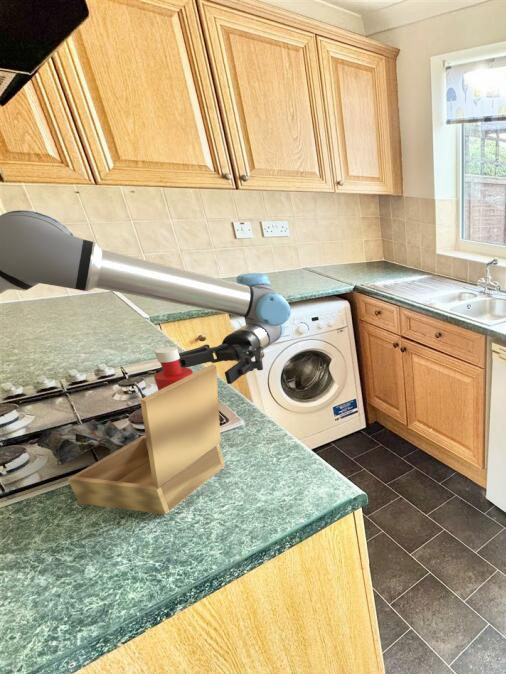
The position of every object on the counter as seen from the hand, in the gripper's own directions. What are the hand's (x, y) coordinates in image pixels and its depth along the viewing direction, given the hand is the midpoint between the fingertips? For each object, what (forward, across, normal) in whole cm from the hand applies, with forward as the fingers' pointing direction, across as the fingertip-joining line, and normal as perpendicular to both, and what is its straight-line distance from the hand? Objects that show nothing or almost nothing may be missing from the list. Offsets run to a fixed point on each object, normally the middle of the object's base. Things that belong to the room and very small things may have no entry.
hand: (193, 377), depth 88 cm
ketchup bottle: (+5, 0, -13) cm, 14 cm away
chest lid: (+21, -11, +1) cm, 24 cm away
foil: (+10, +13, -13) cm, 21 cm away
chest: (+19, -2, -13) cm, 23 cm away
